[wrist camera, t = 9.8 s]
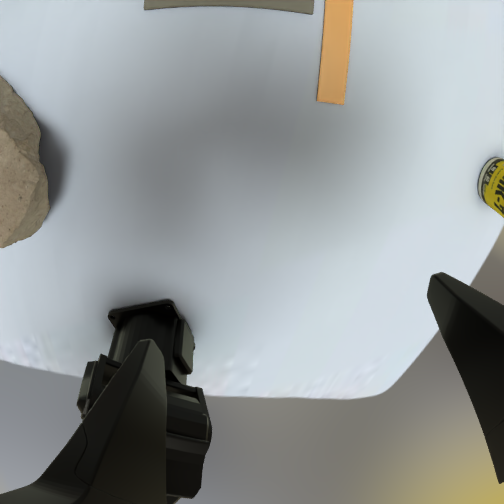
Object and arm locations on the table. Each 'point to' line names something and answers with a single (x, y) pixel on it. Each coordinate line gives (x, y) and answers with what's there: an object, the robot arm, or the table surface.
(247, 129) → the table surface
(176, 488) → the robot arm
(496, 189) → the supplement bottle
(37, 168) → the decorative stone
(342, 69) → the tape line
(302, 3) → the mat
